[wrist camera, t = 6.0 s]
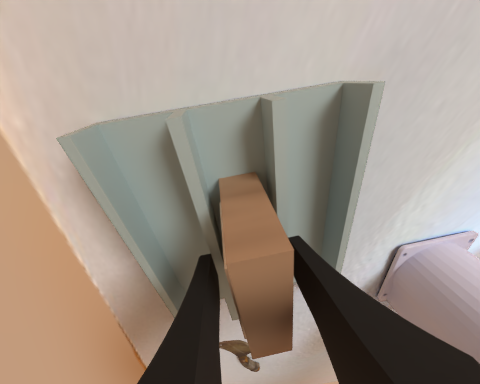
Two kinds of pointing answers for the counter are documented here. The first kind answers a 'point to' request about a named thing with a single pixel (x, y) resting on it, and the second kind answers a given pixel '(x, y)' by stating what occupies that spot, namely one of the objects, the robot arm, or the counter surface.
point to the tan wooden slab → (257, 264)
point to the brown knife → (240, 353)
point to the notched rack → (229, 174)
